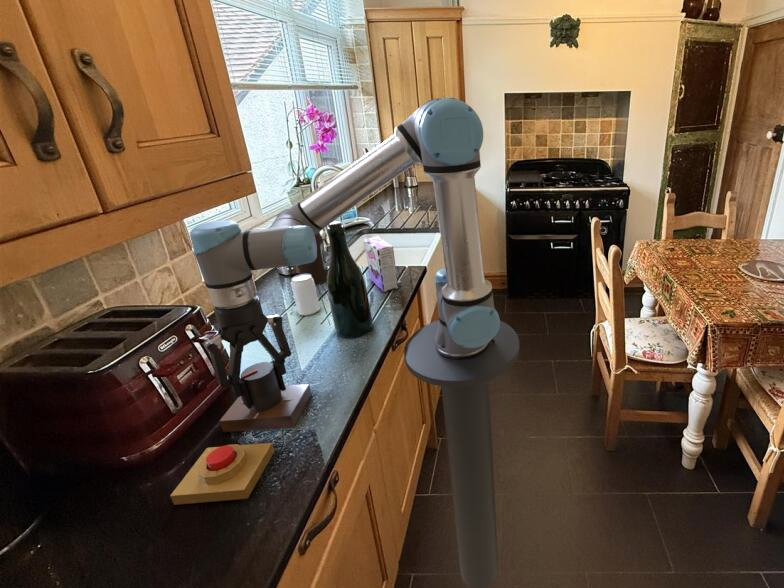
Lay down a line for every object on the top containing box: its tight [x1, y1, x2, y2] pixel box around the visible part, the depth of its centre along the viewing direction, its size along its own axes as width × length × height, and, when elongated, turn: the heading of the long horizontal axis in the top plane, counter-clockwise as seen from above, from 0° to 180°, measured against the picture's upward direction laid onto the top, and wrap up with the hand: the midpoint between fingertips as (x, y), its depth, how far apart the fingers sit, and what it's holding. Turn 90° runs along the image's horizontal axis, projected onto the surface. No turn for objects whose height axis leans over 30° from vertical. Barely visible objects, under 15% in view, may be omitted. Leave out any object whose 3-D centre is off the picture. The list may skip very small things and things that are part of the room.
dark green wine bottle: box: [326, 220, 374, 339], centre depth 113 cm, size 10×10×33 cm
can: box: [290, 273, 321, 317], centre depth 128 cm, size 6×6×12 cm
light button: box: [206, 444, 236, 471], centre depth 71 cm, size 4×4×2 cm
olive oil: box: [297, 232, 329, 285], centre depth 148 cm, size 11×11×25 cm
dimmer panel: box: [218, 383, 313, 433], centre depth 87 cm, size 14×10×3 cm
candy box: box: [363, 235, 399, 293], centre depth 145 cm, size 14×6×16 cm, turn 37°
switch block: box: [169, 442, 275, 506], centre depth 72 cm, size 12×10×4 cm
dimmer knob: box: [240, 361, 282, 411], centre depth 85 cm, size 6×6×8 cm
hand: (265, 396), depth 86 cm, fingers closed on dimmer knob, 6 cm apart
